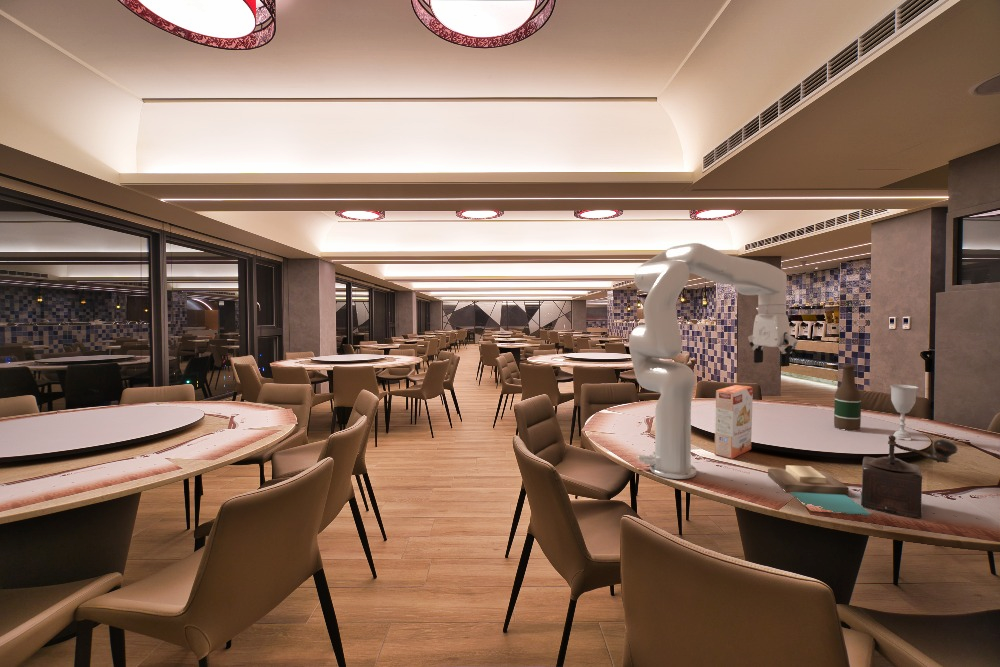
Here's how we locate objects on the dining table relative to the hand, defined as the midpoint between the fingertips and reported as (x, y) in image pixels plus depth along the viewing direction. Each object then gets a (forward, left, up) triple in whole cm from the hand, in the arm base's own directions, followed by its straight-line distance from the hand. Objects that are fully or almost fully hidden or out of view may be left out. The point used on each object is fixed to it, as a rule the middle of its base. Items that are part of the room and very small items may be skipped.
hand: (771, 364), depth 141 cm
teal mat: (-2, -39, -28) cm, 48 cm away
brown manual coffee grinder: (+14, -39, -28) cm, 50 cm away
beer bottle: (+37, +29, -28) cm, 55 cm away
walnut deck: (-2, -28, -28) cm, 40 cm away
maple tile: (-2, -28, -26) cm, 38 cm away
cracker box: (-12, -4, -28) cm, 31 cm away
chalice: (+48, +18, -28) cm, 59 cm away
